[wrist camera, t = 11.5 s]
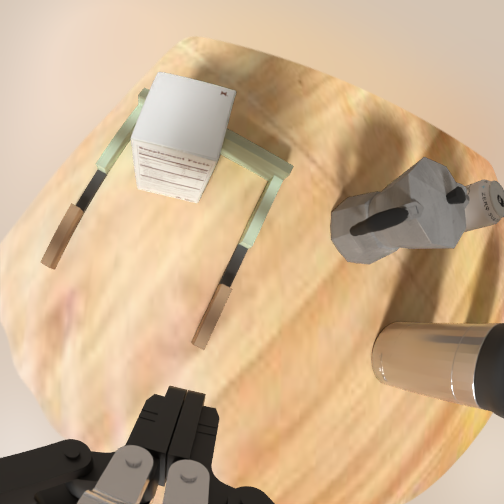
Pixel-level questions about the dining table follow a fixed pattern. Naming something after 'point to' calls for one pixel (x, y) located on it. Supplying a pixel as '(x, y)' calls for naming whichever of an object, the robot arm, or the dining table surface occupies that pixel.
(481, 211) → the energy drink can
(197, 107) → the supplement box
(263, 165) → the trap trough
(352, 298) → the dining table surface
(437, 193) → the coffeepot
